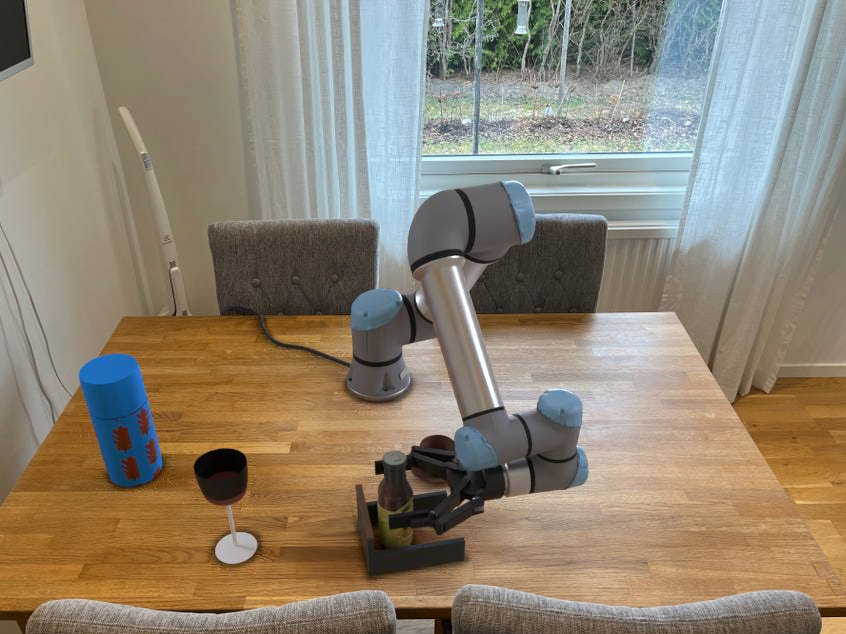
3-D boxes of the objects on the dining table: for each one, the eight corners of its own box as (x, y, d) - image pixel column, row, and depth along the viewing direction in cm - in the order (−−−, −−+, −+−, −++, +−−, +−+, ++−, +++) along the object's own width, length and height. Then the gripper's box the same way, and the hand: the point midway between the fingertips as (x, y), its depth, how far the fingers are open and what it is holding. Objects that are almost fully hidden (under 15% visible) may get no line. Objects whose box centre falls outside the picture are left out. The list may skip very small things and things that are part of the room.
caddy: (445, 508, 138) (446, 471, 132) (464, 561, 127) (466, 522, 122) (357, 522, 135) (355, 484, 130) (368, 577, 124) (367, 538, 119)
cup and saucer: (426, 497, 140) (426, 473, 137) (398, 461, 149) (397, 438, 146) (478, 477, 145) (479, 454, 142) (447, 443, 154) (448, 421, 151)
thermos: (173, 458, 151) (150, 358, 137) (142, 492, 142) (114, 389, 129) (130, 448, 154) (103, 349, 140) (97, 480, 145) (64, 378, 132)
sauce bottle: (409, 558, 127) (409, 474, 117) (375, 553, 128) (371, 469, 118) (416, 531, 133) (416, 448, 122) (383, 527, 134) (380, 444, 123)
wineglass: (214, 532, 133) (197, 449, 122) (262, 529, 133) (249, 446, 123) (208, 566, 126) (189, 481, 115) (258, 562, 127) (244, 478, 116)
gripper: (522, 544, 118) (395, 564, 115) (478, 448, 139) (370, 463, 136) (525, 511, 114) (395, 531, 111) (480, 417, 135) (369, 432, 131)
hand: (381, 494), depth 123 cm, fingers open, 13 cm apart
